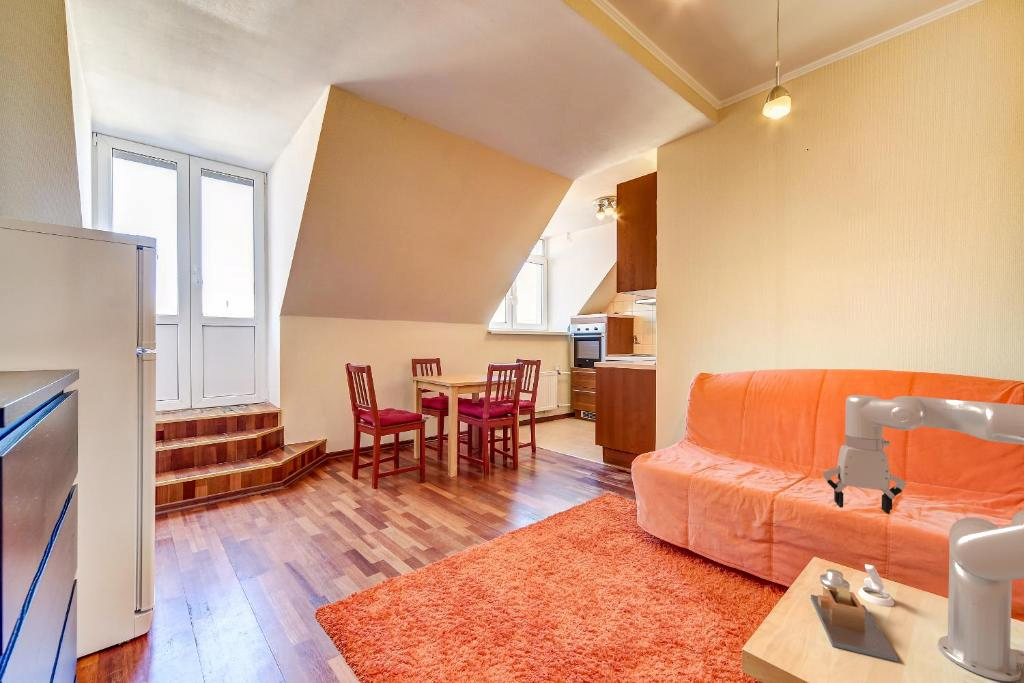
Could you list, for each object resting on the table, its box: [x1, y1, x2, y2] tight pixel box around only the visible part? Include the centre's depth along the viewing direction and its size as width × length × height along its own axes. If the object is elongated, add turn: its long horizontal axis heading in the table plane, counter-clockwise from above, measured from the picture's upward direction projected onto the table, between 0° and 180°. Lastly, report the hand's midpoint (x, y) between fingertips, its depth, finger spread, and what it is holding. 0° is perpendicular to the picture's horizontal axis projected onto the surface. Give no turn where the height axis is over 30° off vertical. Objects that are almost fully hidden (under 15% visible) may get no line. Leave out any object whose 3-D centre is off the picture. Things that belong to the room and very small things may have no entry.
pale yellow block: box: [836, 586, 851, 606], centre depth 109 cm, size 2×4×7 cm, turn 152°
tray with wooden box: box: [810, 568, 898, 663], centre depth 108 cm, size 12×22×9 cm, turn 157°
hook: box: [857, 563, 895, 607], centre depth 119 cm, size 8×12×7 cm
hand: (862, 508), depth 111 cm, fingers open, 9 cm apart
